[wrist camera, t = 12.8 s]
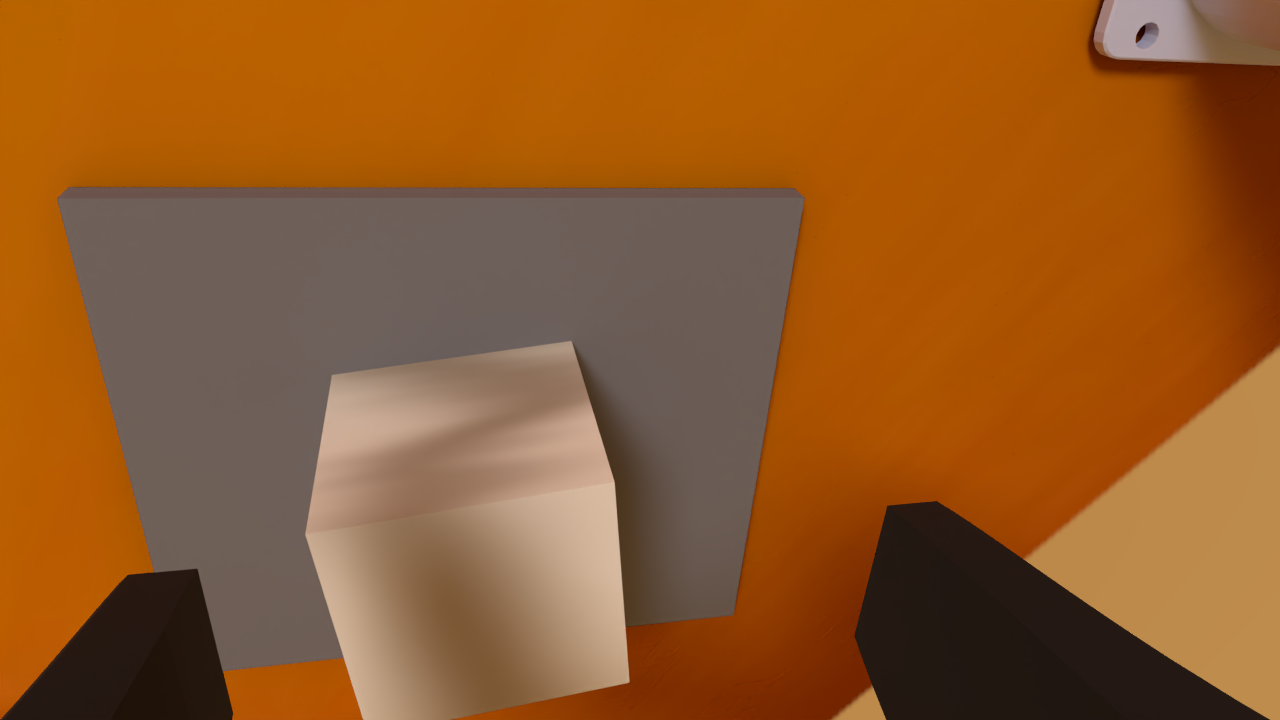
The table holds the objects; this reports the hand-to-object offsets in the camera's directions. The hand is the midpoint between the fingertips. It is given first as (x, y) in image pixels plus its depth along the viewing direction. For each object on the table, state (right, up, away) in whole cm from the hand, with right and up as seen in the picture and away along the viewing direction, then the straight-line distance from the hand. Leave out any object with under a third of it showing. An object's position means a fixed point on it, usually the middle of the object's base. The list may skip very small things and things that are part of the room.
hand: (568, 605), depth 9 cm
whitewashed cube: (-3, +1, +10) cm, 11 cm away
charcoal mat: (-3, +1, +11) cm, 11 cm away
